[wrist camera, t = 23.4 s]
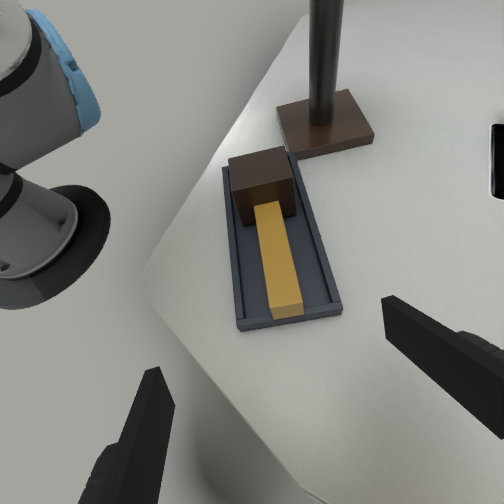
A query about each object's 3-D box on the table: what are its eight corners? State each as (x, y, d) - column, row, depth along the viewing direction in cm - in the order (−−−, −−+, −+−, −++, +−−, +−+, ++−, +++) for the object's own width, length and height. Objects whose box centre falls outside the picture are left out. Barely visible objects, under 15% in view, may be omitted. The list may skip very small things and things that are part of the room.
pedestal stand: (372, 143, 38) (508, -399, 12) (290, 162, 39) (258, -298, 13) (346, 98, 44) (401, -324, 18) (276, 115, 45) (236, -259, 19)
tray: (341, 314, 27) (343, 308, 25) (241, 332, 28) (236, 327, 26) (293, 161, 39) (293, 150, 37) (225, 177, 40) (221, 167, 38)
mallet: (324, 311, 25) (327, 282, 20) (254, 323, 26) (240, 298, 21) (287, 183, 36) (283, 145, 31) (239, 194, 37) (228, 158, 32)
